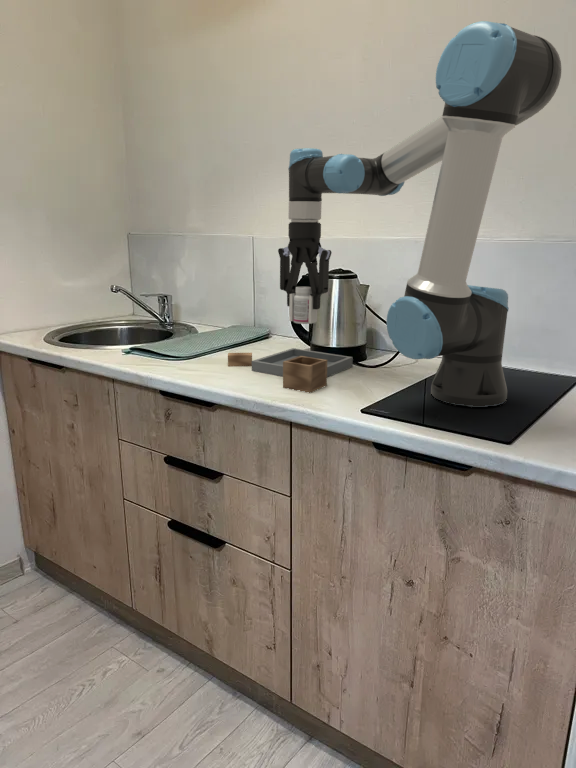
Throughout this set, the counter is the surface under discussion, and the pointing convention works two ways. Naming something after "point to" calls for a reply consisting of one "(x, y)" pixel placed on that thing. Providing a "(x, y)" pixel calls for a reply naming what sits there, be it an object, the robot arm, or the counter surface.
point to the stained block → (239, 359)
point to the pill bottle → (301, 305)
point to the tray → (275, 361)
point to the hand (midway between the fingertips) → (303, 321)
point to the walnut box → (305, 373)
